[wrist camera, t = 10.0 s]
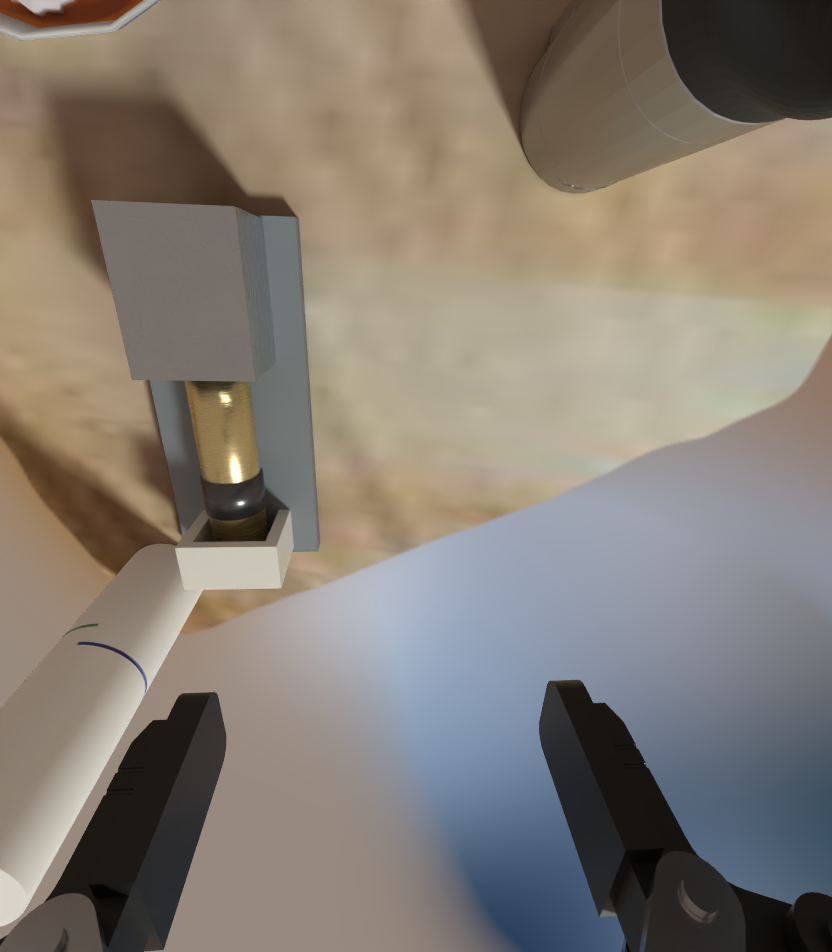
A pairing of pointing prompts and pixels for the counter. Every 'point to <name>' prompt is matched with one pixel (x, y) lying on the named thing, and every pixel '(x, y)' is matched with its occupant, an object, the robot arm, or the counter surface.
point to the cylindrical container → (80, 714)
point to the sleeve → (189, 289)
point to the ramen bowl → (67, 17)
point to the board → (261, 406)
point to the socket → (234, 557)
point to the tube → (229, 459)
